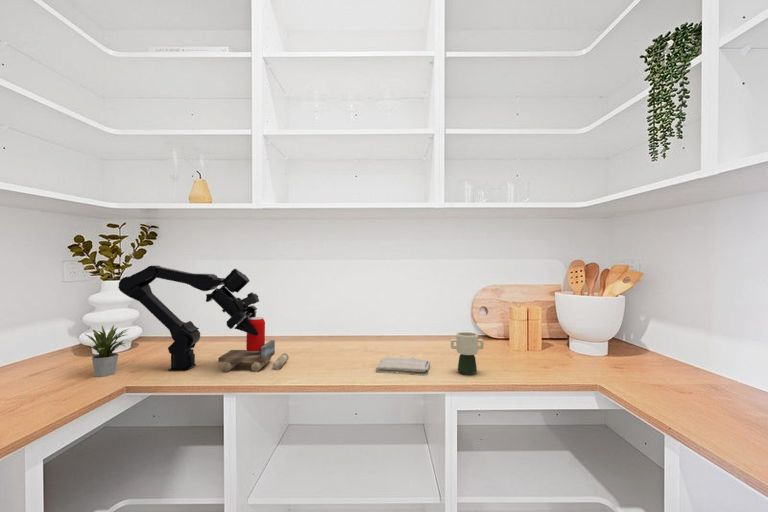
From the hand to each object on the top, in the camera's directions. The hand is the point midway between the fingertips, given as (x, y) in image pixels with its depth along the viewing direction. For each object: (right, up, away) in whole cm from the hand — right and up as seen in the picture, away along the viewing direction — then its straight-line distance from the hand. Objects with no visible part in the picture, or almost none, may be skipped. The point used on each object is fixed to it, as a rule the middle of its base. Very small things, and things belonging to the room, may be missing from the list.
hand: (259, 332), depth 131 cm
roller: (+7, -12, +1) cm, 14 cm away
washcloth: (+51, -12, -4) cm, 53 cm away
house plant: (-47, -12, -10) cm, 49 cm away
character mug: (+72, -12, -8) cm, 73 cm away
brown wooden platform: (-4, -12, 0) cm, 12 cm away
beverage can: (-1, -7, 0) cm, 7 cm away
